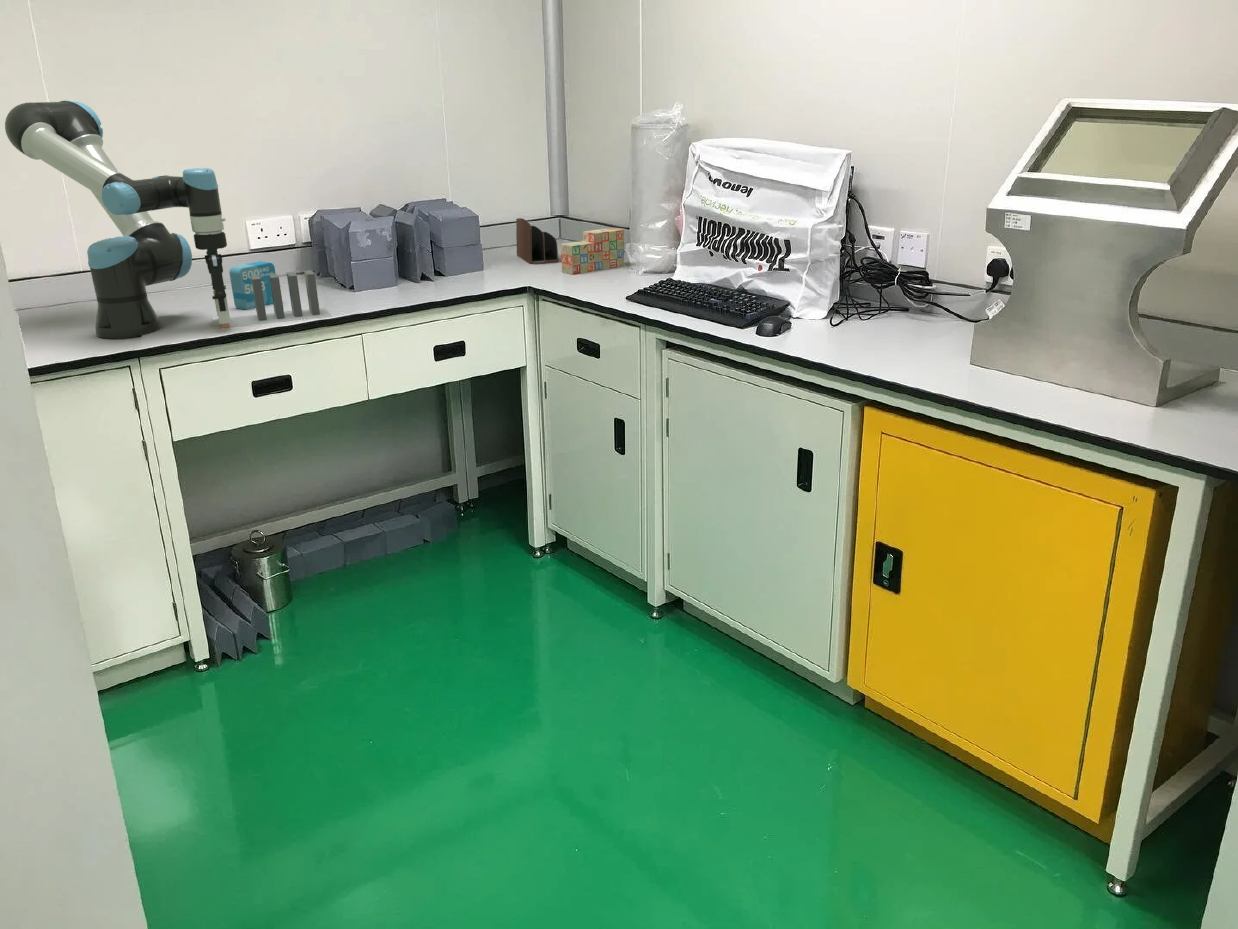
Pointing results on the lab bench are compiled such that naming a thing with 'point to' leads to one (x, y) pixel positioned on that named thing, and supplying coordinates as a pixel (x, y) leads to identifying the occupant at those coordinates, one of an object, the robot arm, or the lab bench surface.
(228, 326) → the domino
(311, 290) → the domino
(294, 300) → the domino
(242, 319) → the mat
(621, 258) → the stack of blocks
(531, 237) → the letter holder
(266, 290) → the data package
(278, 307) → the domino
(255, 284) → the domino
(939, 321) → the lab bench surface
